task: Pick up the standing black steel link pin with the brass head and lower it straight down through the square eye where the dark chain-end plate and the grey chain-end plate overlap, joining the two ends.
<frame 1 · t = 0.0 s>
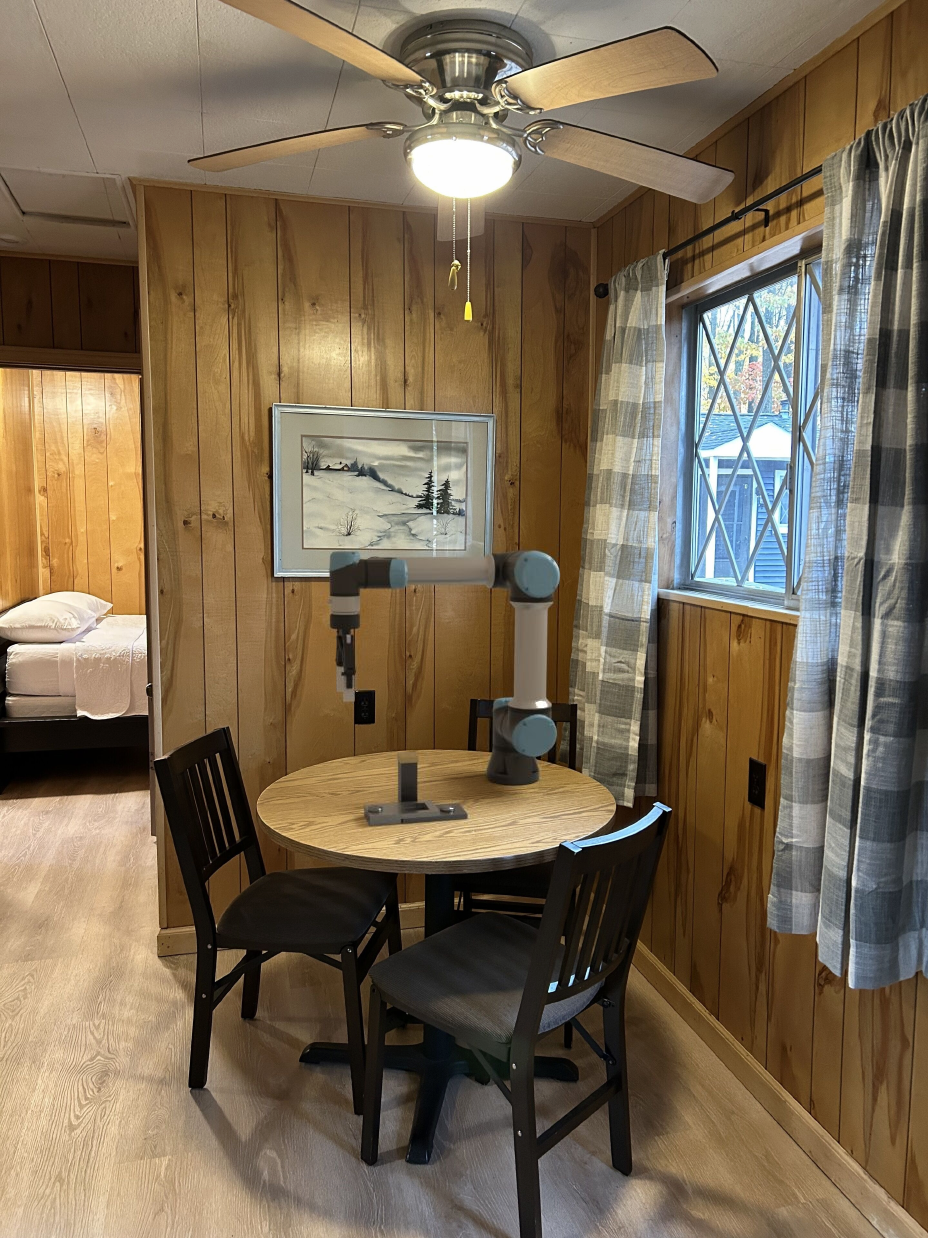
hand: (345, 696, 230), 28 cm above the table, fingers open, 13 cm apart
chain end a: (431, 815, 224), on the table
chain end b: (399, 817, 222), on the table
link pin: (407, 804, 233), on the table
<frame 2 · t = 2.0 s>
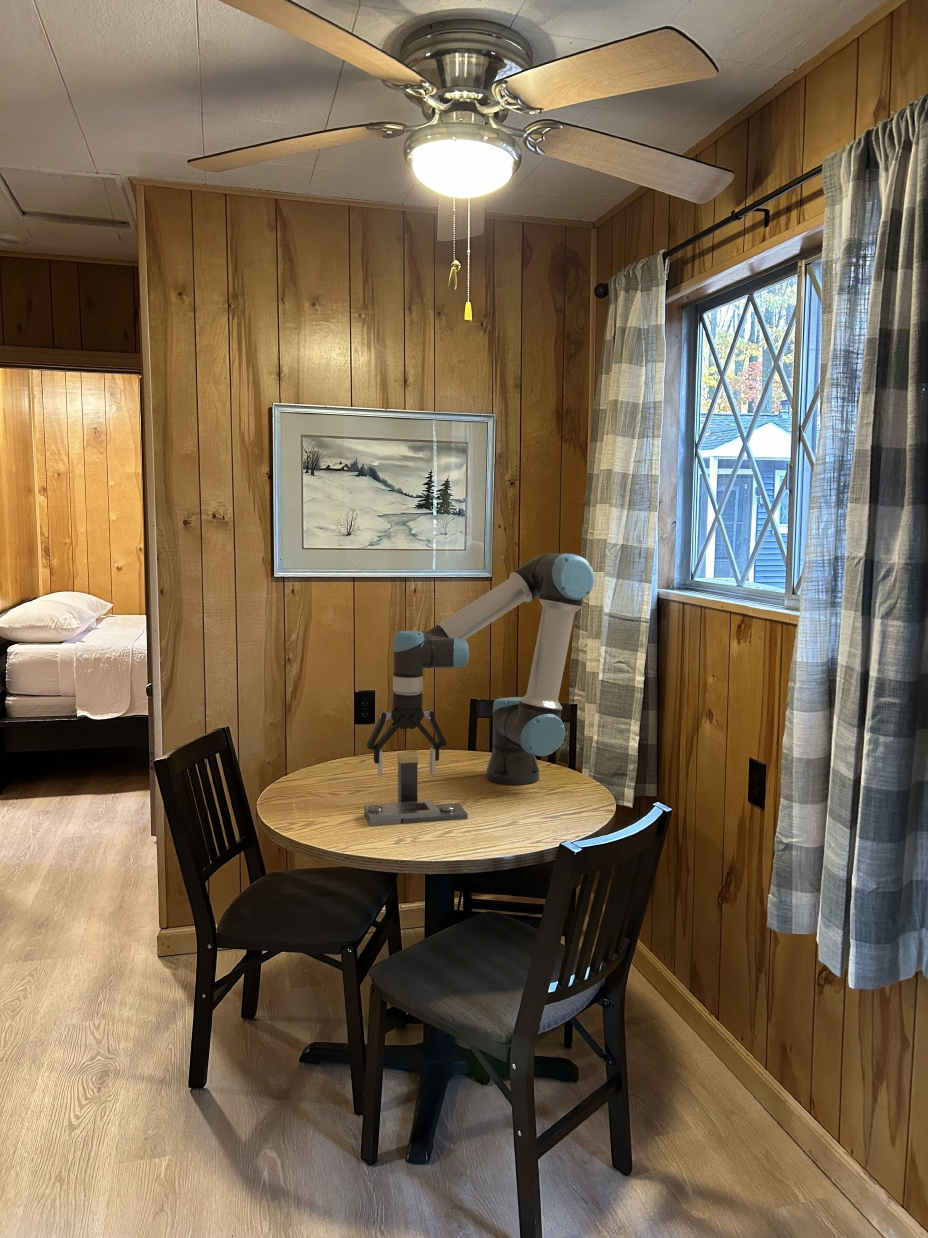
hand: (406, 774, 232), 8 cm above the table, fingers open, 13 cm apart
nothing on the table moved.
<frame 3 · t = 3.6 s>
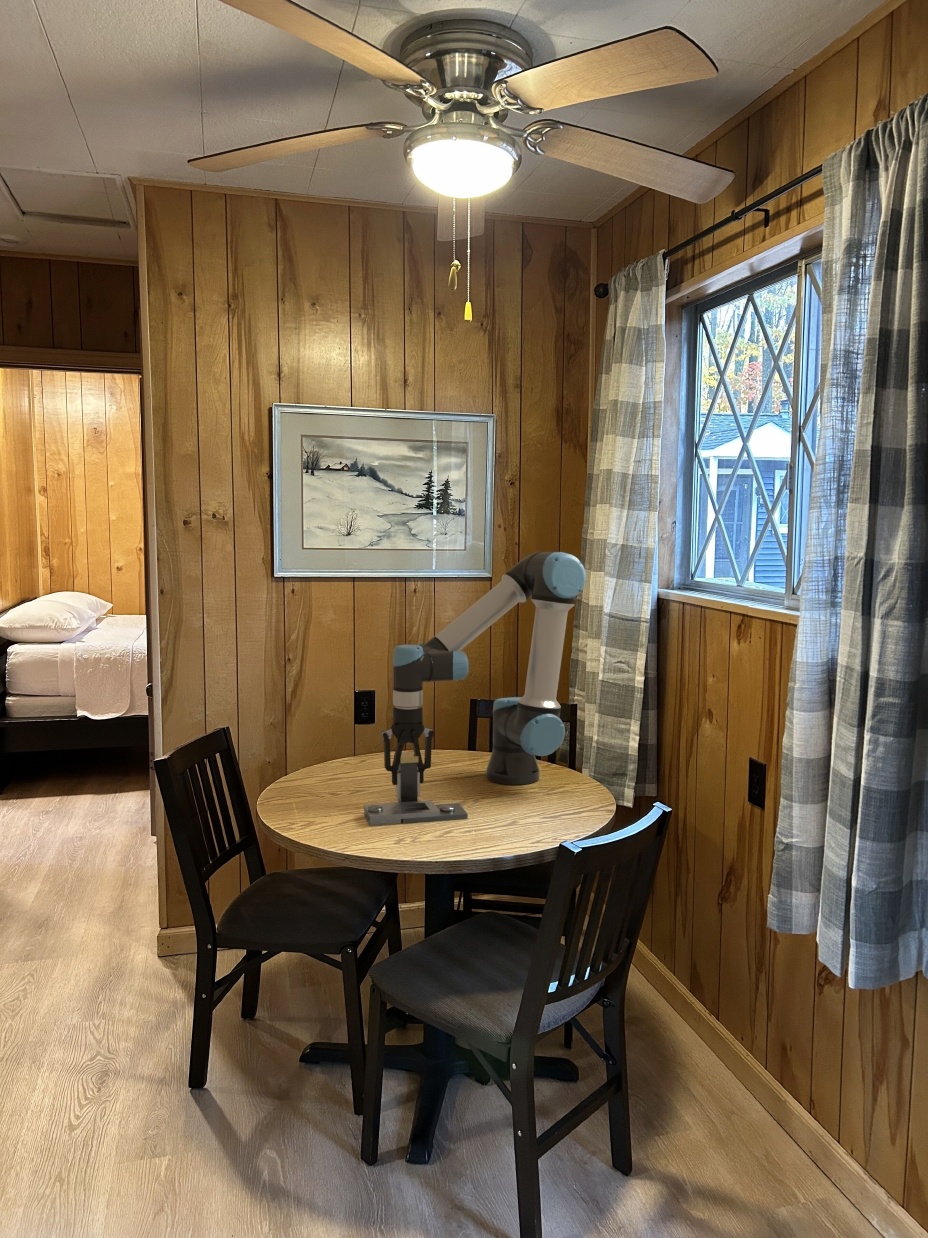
hand: (407, 796, 232), 2 cm above the table, fingers closed on link pin, 4 cm apart
link pin: (407, 804, 233), on the table, touching gripper
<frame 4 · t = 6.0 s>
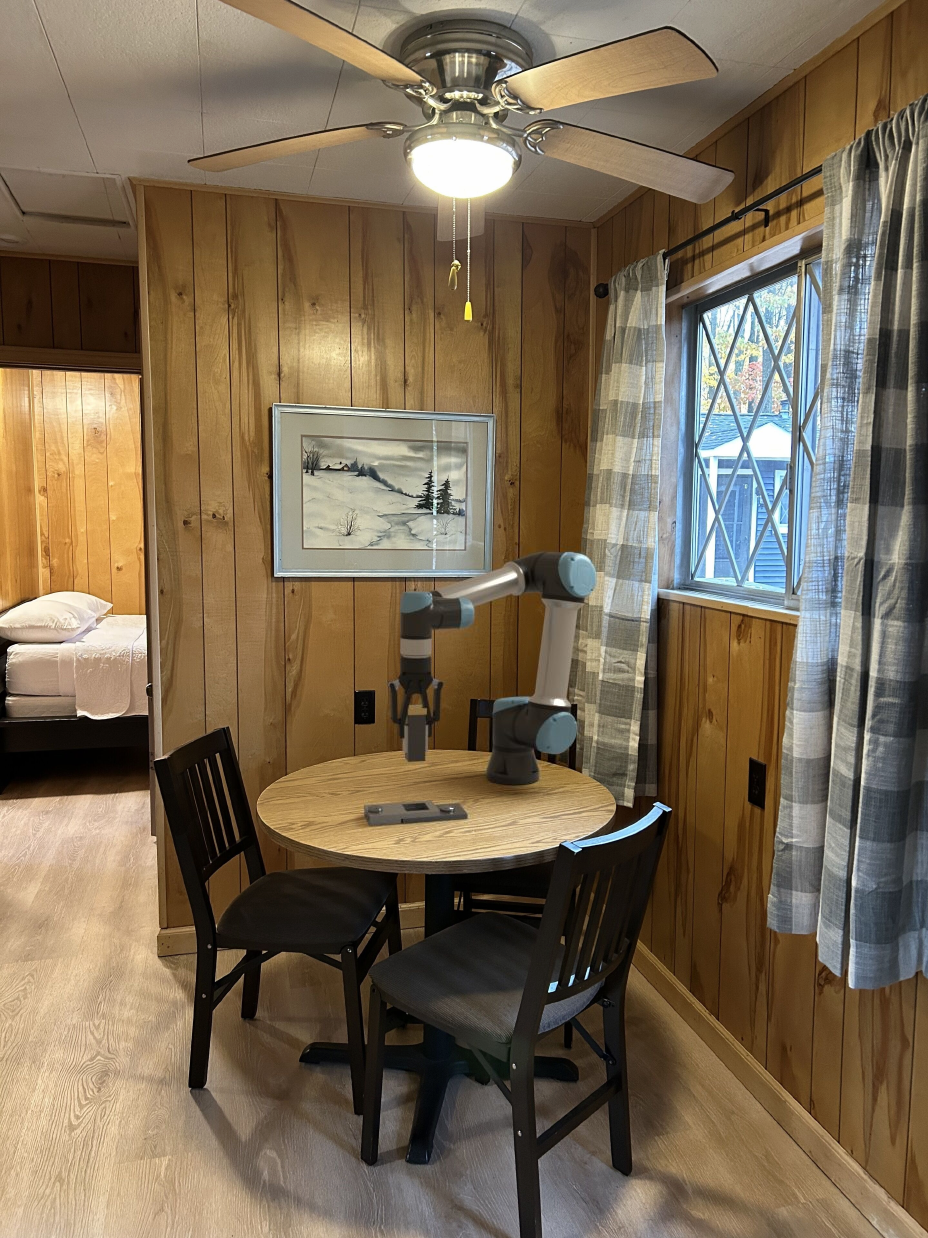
hand: (415, 750, 221), 17 cm above the table, fingers closed on link pin, 4 cm apart
link pin: (415, 759, 222), point 14 cm above the table, touching gripper
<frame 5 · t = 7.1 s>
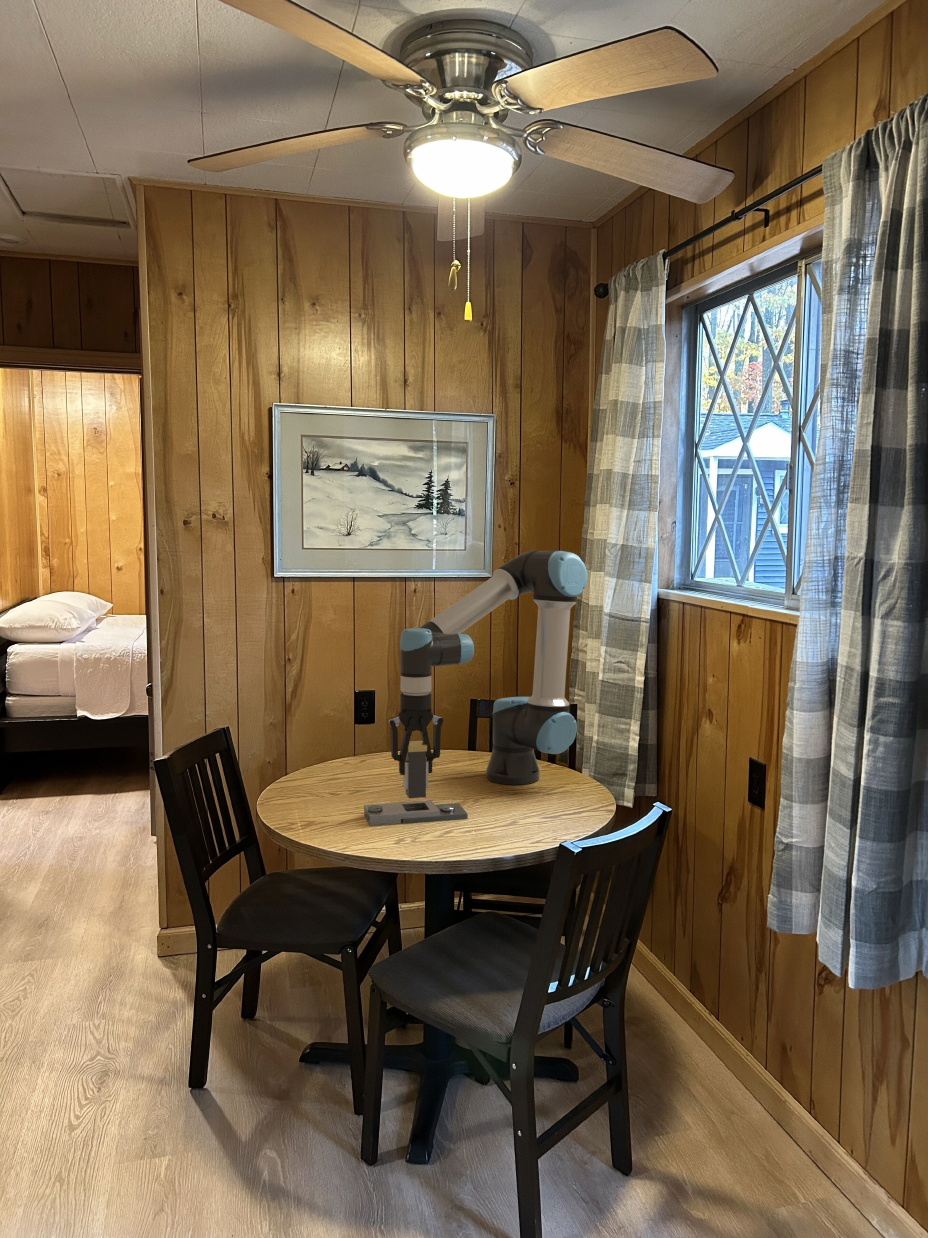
hand: (415, 786, 222), 8 cm above the table, fingers closed on link pin, 4 cm apart
link pin: (415, 795, 223), point 5 cm above the table, touching gripper
when the fingers open (3 cm above the table, at t = 8.2 s): link pin drops 1 cm, resting in chain end a.
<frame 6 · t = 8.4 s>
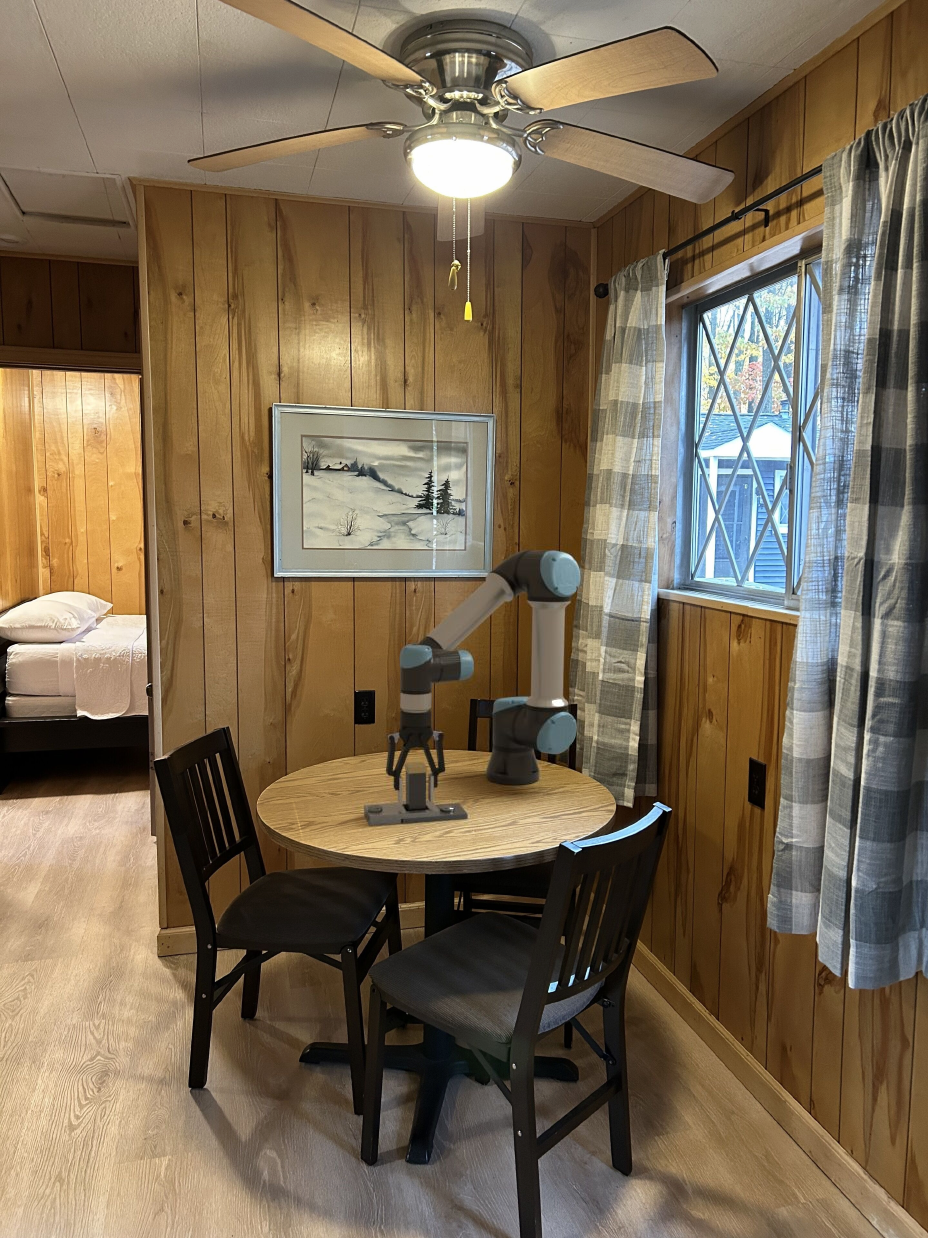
hand: (415, 801, 223), 4 cm above the table, fingers open, 7 cm apart
link pin: (415, 816, 223), resting in chain end a
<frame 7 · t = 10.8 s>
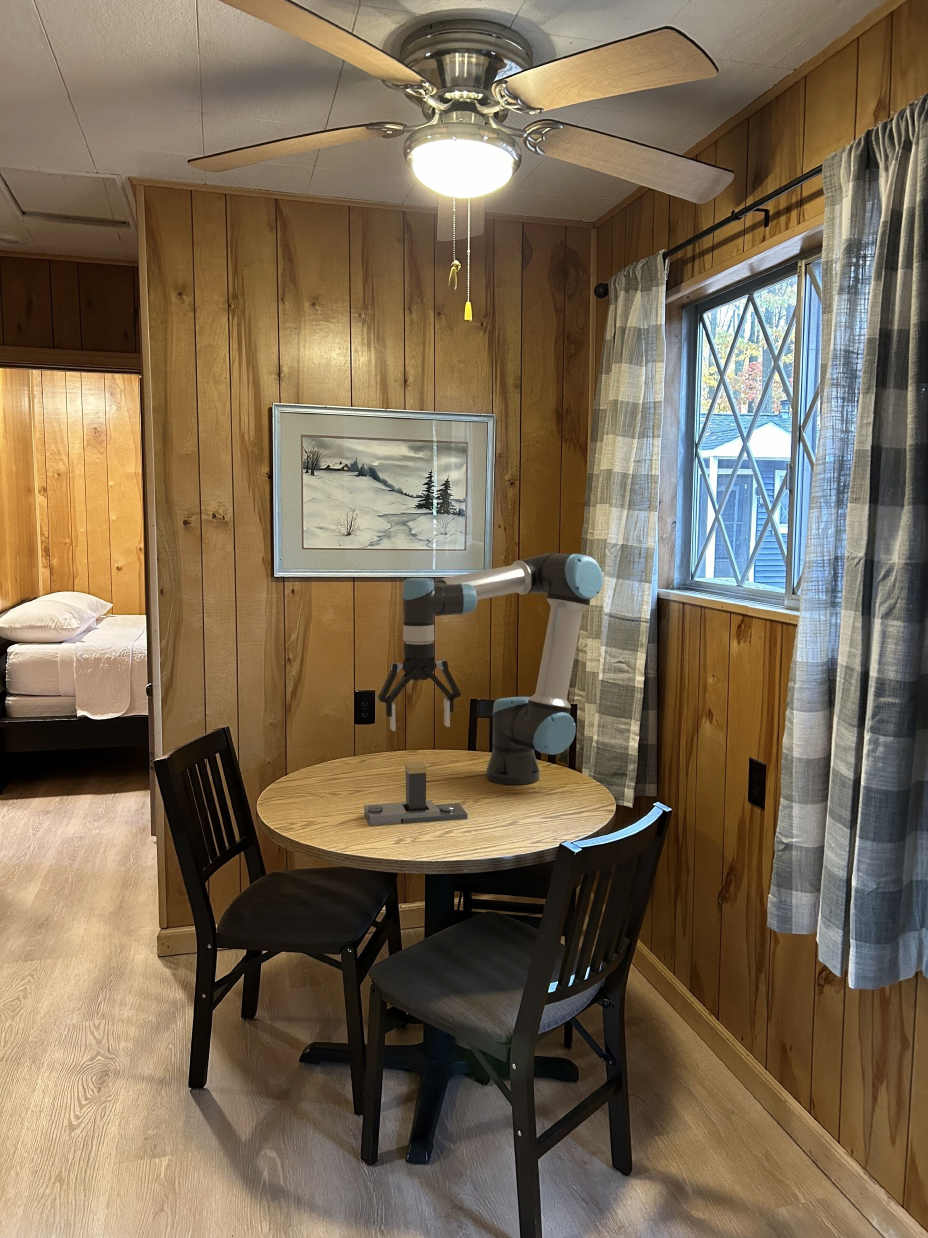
hand: (420, 727, 223), 22 cm above the table, fingers open, 13 cm apart
nothing on the table moved.
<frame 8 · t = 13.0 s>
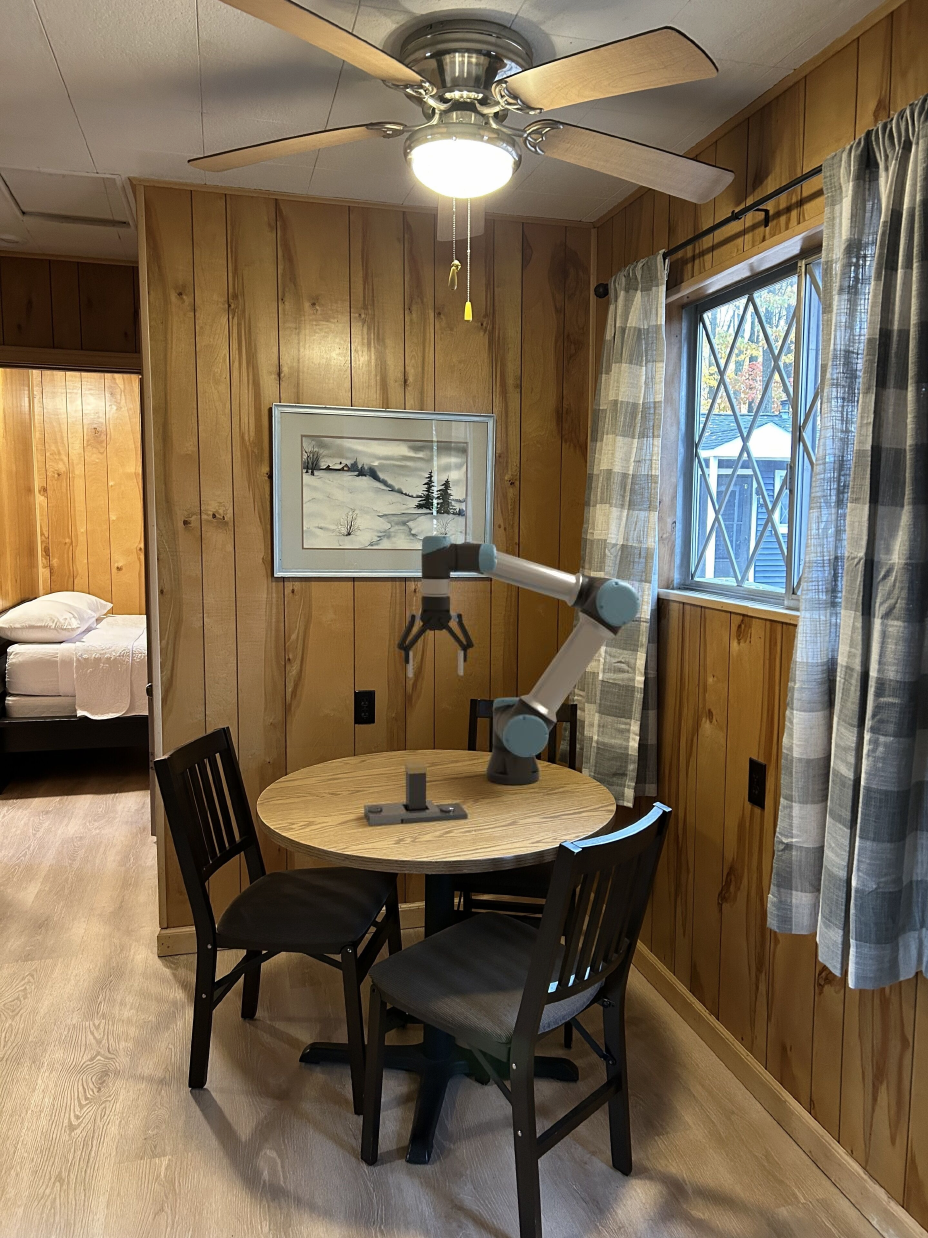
hand: (435, 675, 239), 32 cm above the table, fingers open, 13 cm apart
nothing on the table moved.
at the end: link pin 0.1 cm from the target spot, resting in chain end a; link pin tilted 0°; the gripper is holding nothing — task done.
